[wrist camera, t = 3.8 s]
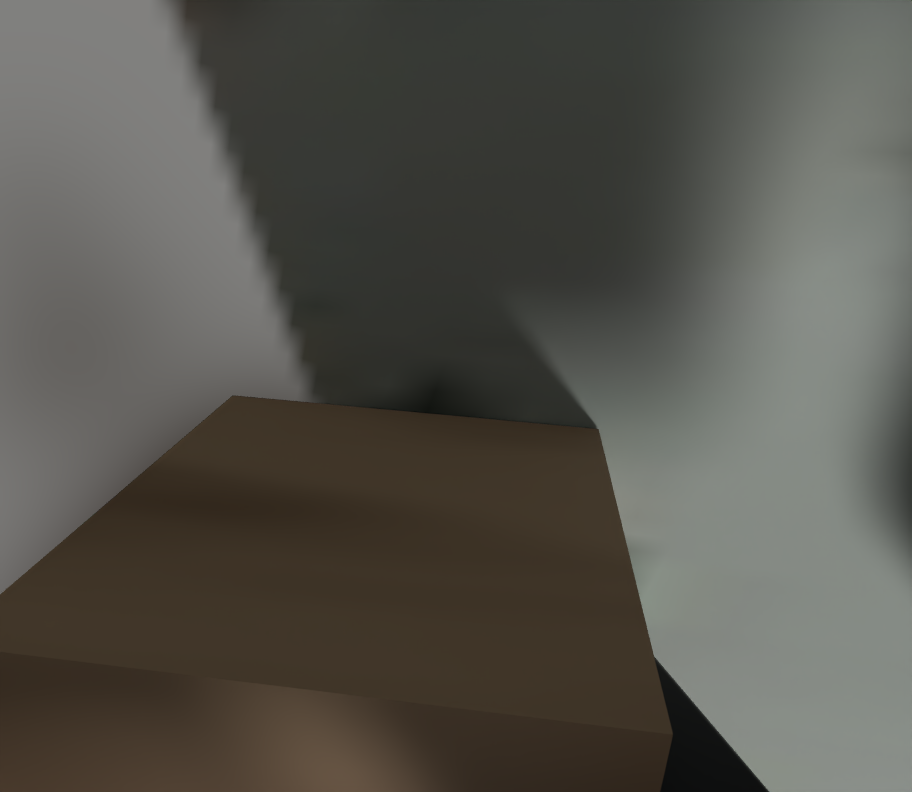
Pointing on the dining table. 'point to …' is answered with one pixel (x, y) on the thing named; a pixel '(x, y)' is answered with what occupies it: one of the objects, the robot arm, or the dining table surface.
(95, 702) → the walnut block
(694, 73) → the dining table surface
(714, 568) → the dining table surface
